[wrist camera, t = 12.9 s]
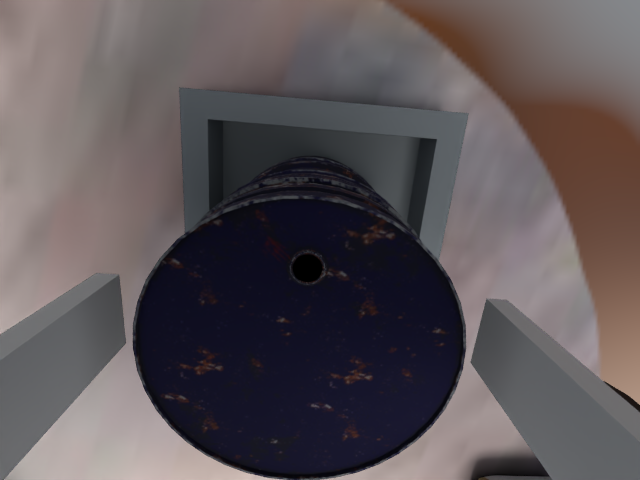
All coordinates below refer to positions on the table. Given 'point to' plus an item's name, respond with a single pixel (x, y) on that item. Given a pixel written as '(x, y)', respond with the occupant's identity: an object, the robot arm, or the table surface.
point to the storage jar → (300, 327)
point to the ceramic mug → (514, 478)
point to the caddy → (321, 150)
